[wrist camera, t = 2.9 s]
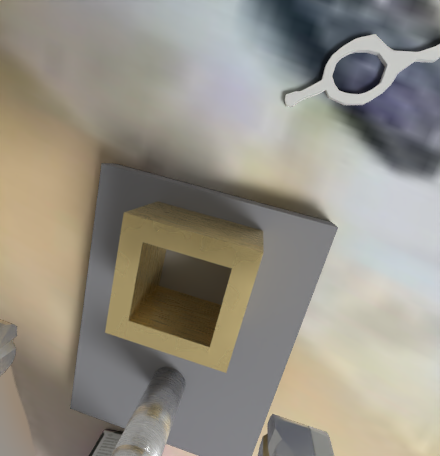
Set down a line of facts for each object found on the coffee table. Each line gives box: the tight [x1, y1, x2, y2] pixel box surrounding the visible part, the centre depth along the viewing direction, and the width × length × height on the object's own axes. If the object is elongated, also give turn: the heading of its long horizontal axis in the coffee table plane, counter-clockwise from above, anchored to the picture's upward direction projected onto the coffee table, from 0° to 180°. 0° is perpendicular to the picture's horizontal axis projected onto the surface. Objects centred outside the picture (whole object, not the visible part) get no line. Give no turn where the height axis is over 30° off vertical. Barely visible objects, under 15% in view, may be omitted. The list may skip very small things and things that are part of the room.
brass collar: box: [105, 201, 264, 373], centre depth 14 cm, size 6×6×4 cm
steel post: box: [111, 367, 186, 456], centre depth 15 cm, size 2×2×6 cm
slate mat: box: [70, 163, 338, 456], centre depth 18 cm, size 19×14×2 cm
